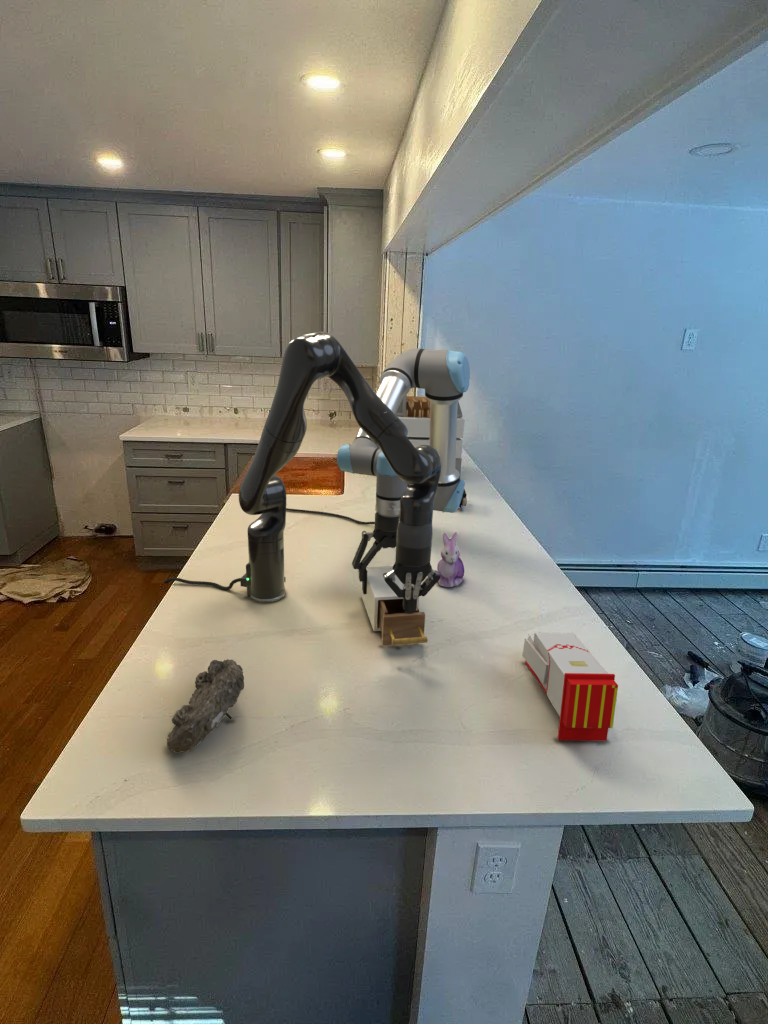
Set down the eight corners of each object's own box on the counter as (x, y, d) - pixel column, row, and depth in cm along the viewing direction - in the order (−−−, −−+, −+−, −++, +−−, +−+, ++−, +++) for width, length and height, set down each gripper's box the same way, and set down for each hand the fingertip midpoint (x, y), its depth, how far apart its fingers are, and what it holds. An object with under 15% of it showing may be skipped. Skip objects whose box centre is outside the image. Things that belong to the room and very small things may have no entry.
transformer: (382, 463, 289) (386, 382, 275) (445, 464, 293) (451, 384, 279) (390, 482, 257) (394, 392, 243) (460, 483, 261) (468, 394, 247)
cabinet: (417, 628, 141) (419, 594, 138) (373, 631, 139) (374, 597, 136) (401, 596, 157) (403, 565, 154) (362, 598, 155) (363, 567, 151)
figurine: (445, 591, 160) (450, 542, 155) (426, 576, 169) (430, 529, 164) (473, 585, 164) (478, 537, 159) (453, 571, 173) (457, 525, 168)
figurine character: (467, 515, 225) (461, 499, 238) (469, 498, 221) (463, 482, 235) (450, 514, 224) (445, 498, 238) (452, 497, 221) (447, 482, 234)
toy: (569, 616, 131) (627, 681, 101) (563, 669, 133) (618, 748, 104) (517, 615, 130) (560, 680, 101) (512, 669, 133) (553, 747, 104)
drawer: (430, 657, 128) (432, 628, 126) (387, 660, 126) (389, 631, 124) (407, 609, 148) (409, 583, 146) (370, 611, 146) (371, 585, 144)
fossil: (192, 660, 117) (244, 628, 112) (224, 691, 120) (276, 661, 115) (142, 746, 98) (202, 712, 93) (182, 779, 101) (242, 748, 96)
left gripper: (387, 548, 115) (383, 622, 121) (449, 545, 118) (442, 618, 124) (380, 534, 122) (376, 605, 128) (439, 532, 124) (433, 602, 130)
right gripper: (345, 519, 137) (344, 600, 144) (439, 516, 141) (432, 594, 149) (341, 508, 143) (340, 586, 151) (430, 506, 148) (425, 581, 156)
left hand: (409, 612), depth 126 cm, fingers closed
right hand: (386, 590), depth 150 cm, fingers closed on cabinet, 11 cm apart
